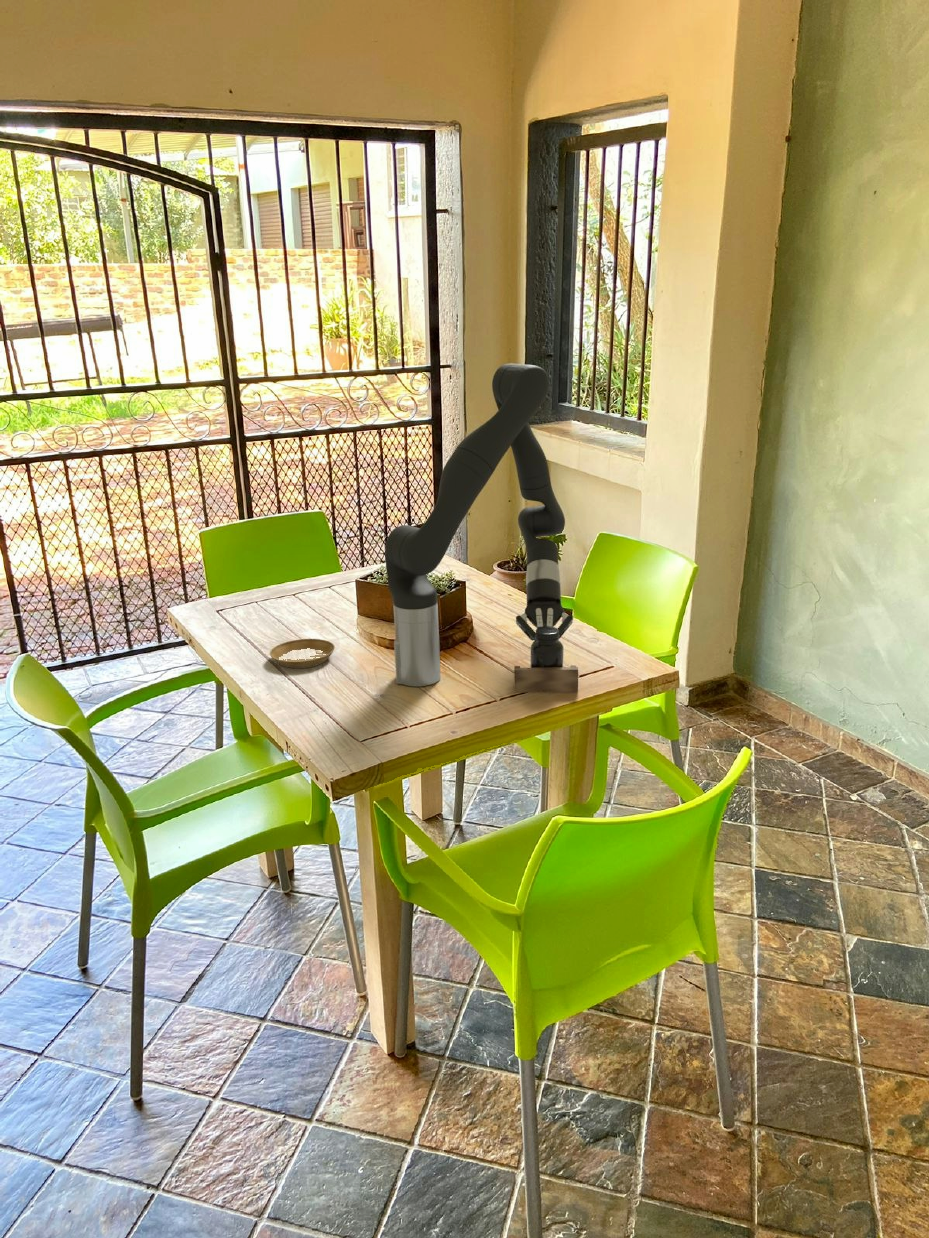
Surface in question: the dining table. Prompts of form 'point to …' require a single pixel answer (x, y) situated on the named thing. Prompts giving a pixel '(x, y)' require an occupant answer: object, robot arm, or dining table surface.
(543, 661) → the supplement bottle
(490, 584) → the dining table surface
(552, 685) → the block
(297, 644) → the plant saucer
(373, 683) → the dining table surface
